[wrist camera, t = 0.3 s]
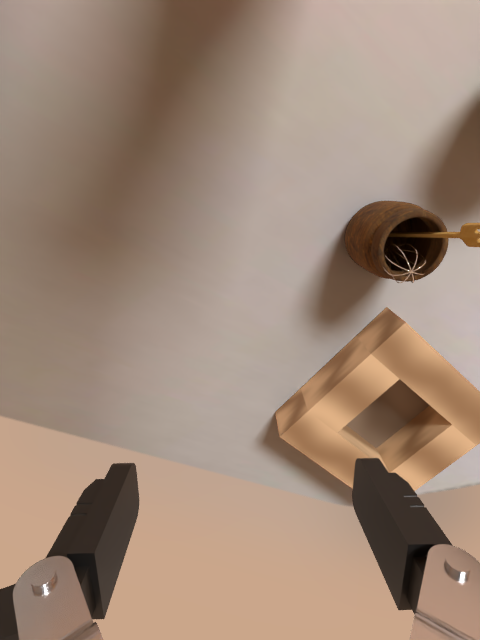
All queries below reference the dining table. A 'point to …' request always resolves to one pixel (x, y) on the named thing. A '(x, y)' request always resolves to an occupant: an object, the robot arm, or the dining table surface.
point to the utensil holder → (401, 240)
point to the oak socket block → (384, 407)
